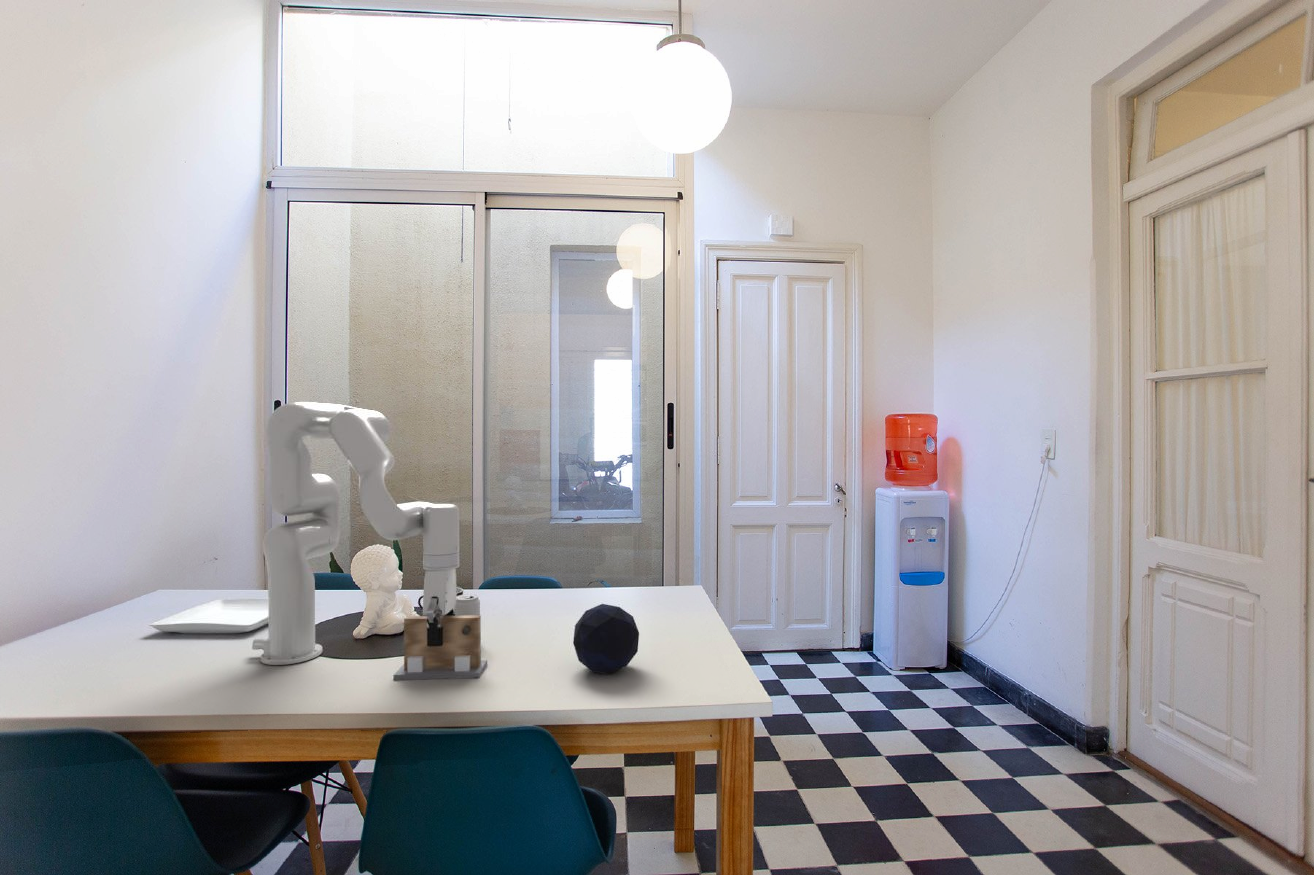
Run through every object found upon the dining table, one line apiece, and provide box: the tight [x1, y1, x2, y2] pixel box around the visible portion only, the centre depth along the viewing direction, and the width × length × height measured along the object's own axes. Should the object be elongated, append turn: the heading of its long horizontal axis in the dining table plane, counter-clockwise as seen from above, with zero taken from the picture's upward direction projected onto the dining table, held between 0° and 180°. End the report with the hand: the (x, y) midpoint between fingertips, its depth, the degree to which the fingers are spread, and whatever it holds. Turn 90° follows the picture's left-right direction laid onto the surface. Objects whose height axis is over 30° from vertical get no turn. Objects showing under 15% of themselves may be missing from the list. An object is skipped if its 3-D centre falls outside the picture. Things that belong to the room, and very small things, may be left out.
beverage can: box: [453, 593, 481, 616], centre depth 157 cm, size 6×6×12 cm
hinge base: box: [392, 655, 488, 681], centre depth 139 cm, size 18×8×4 cm, turn 93°
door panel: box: [403, 614, 482, 670], centre depth 139 cm, size 16×3×11 cm, turn 93°
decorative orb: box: [572, 603, 640, 675], centre depth 140 cm, size 14×15×15 cm
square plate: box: [148, 597, 268, 634], centre depth 178 cm, size 27×27×4 cm
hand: (441, 638), depth 139 cm, fingers open, 9 cm apart
